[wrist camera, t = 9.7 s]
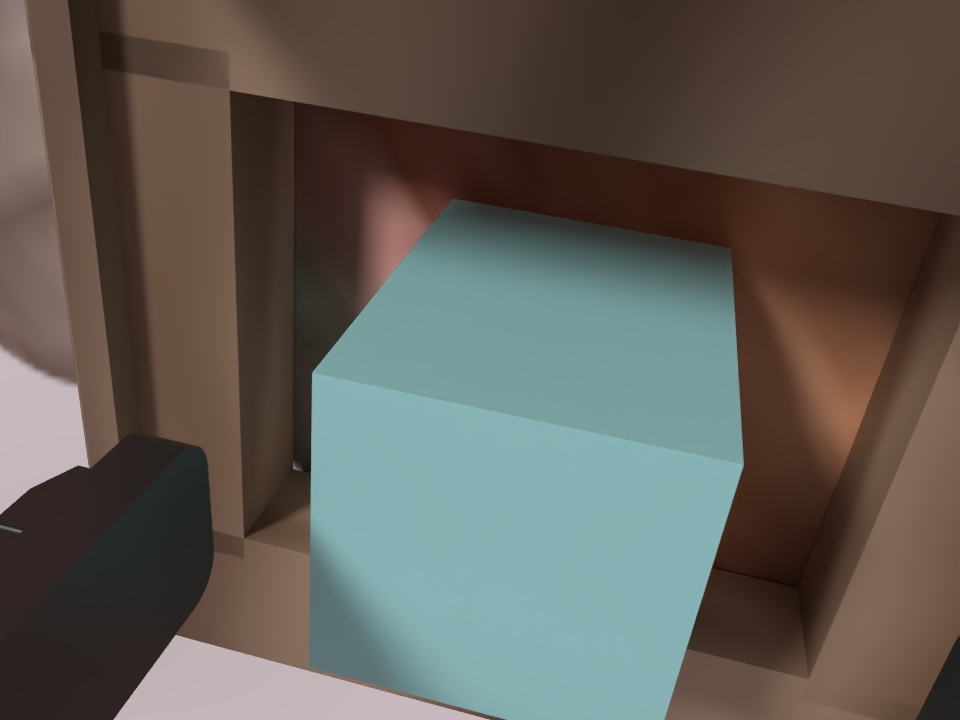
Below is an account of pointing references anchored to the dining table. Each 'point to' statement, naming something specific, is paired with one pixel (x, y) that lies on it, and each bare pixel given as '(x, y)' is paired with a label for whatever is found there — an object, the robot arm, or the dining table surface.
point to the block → (525, 467)
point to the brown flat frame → (533, 118)
